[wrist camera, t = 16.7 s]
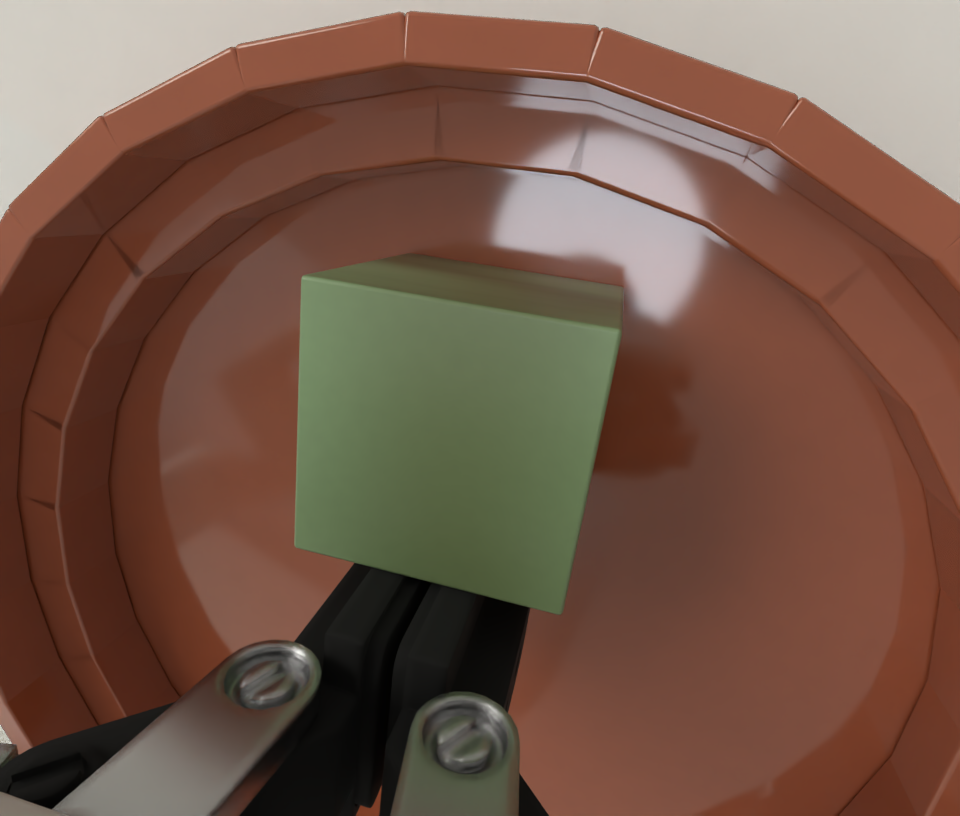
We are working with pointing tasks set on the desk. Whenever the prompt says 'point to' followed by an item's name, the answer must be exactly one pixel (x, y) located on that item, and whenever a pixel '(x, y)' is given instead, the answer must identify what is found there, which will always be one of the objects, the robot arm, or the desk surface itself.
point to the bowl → (626, 427)
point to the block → (452, 420)
